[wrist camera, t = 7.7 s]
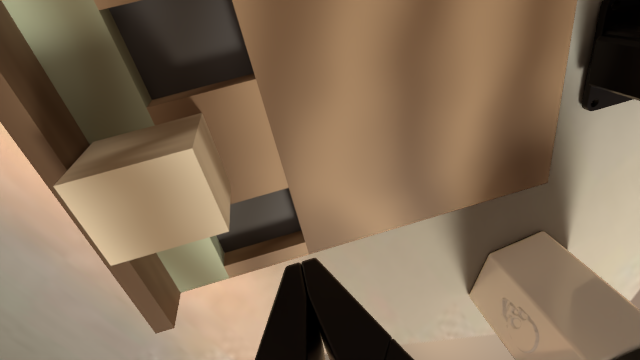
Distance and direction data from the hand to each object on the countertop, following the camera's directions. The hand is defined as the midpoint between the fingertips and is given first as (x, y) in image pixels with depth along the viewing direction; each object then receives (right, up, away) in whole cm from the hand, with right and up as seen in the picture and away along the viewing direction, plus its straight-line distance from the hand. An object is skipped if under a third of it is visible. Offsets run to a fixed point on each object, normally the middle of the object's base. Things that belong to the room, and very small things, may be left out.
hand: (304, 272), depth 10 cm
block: (-7, +3, +8) cm, 11 cm away
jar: (+17, -5, +20) cm, 27 cm away
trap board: (+1, +6, +9) cm, 11 cm away
